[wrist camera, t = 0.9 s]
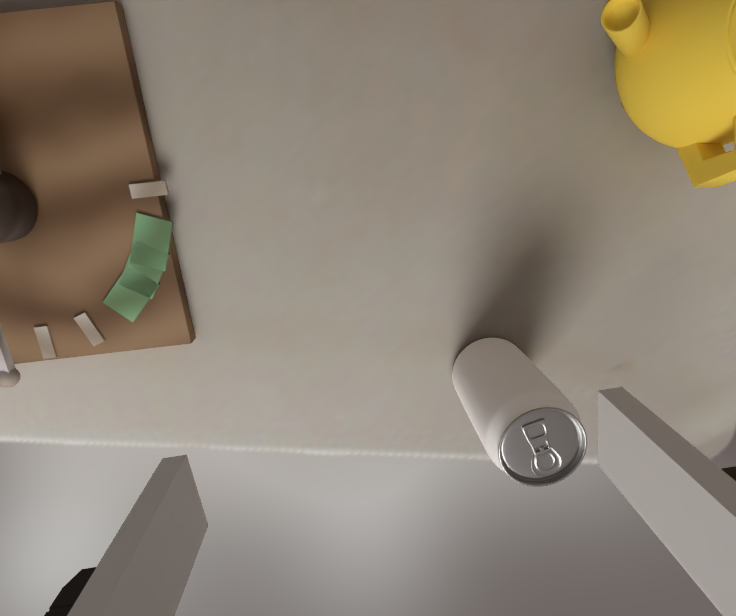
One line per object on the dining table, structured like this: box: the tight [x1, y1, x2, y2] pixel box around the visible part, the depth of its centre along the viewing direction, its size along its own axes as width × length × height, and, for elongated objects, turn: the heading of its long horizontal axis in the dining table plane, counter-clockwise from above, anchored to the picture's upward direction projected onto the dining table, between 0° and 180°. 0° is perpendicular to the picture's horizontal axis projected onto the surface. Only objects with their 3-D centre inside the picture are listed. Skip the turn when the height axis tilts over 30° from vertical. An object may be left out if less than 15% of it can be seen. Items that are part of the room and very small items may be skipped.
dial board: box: [0, 1, 195, 364], centre depth 35 cm, size 24×23×1 cm
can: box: [452, 338, 587, 487], centre depth 36 cm, size 6×6×12 cm
